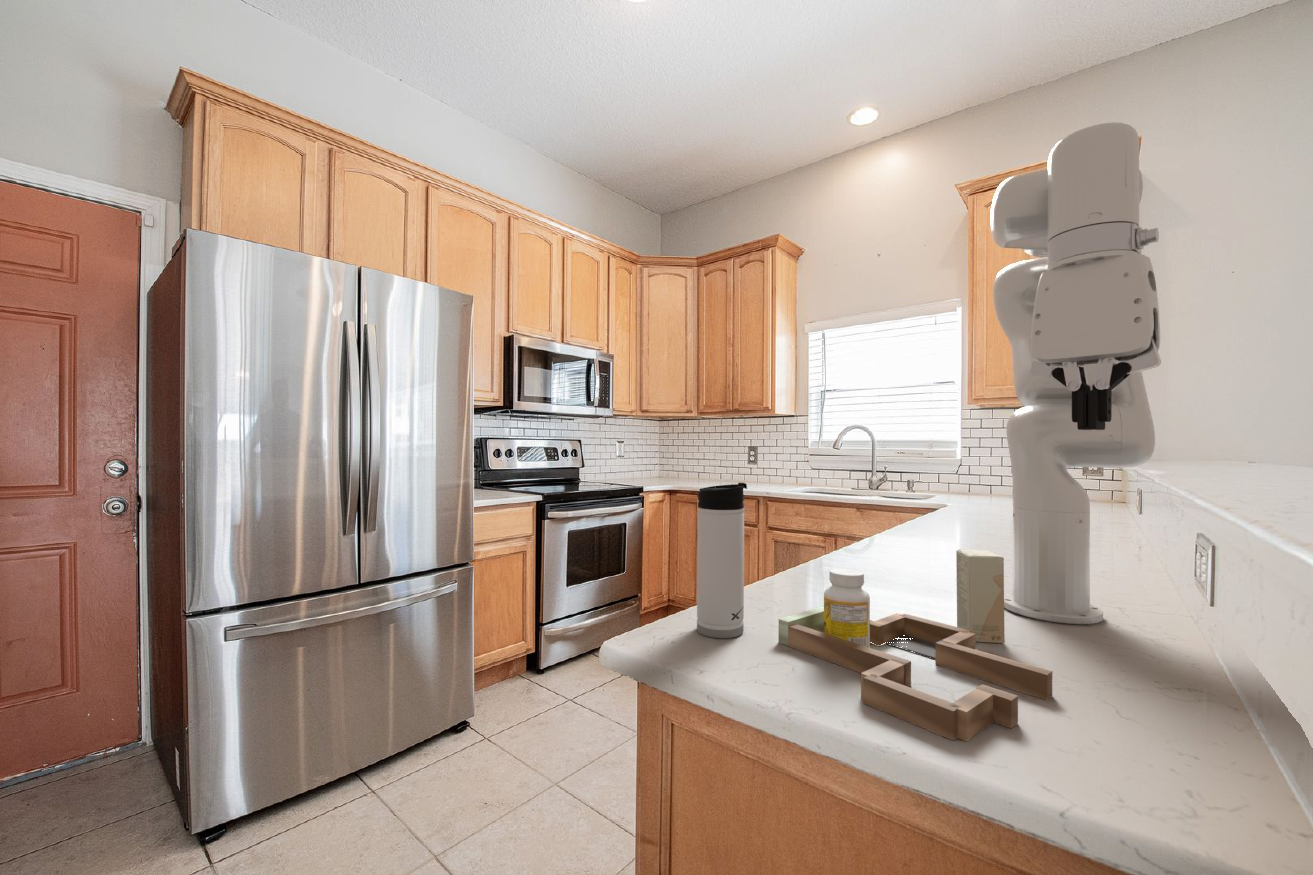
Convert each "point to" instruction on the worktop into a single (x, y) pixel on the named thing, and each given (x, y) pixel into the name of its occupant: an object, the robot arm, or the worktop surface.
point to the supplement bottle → (847, 607)
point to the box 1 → (892, 674)
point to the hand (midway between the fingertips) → (1091, 429)
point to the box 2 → (981, 594)
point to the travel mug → (720, 561)
